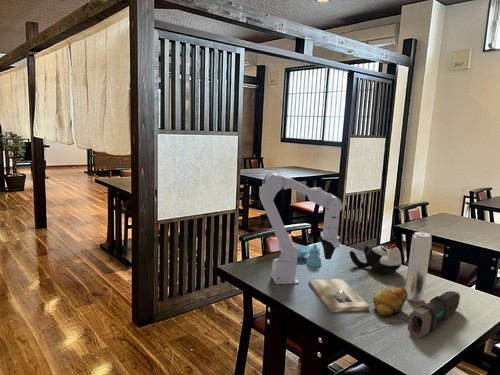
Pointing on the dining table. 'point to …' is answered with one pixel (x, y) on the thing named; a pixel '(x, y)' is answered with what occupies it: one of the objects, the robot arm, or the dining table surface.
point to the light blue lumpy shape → (313, 252)
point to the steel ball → (340, 296)
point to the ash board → (328, 290)
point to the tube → (432, 313)
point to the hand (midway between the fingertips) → (327, 258)
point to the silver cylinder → (418, 266)
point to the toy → (380, 258)
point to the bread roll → (390, 300)
